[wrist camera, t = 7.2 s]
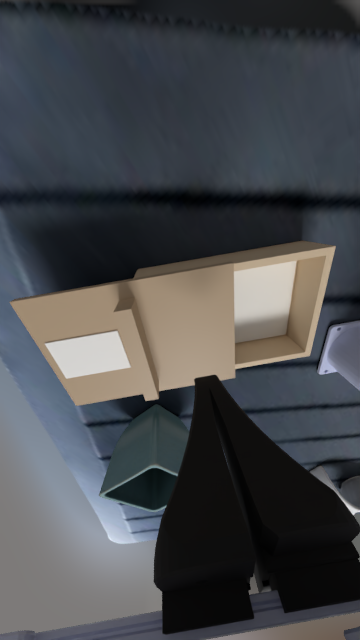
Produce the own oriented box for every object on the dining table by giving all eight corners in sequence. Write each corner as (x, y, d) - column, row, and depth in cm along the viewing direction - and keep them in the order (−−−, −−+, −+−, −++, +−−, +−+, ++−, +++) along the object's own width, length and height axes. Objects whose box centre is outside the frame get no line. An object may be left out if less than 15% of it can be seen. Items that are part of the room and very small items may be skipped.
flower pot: (156, 441, 32) (154, 514, 24) (114, 419, 28) (96, 497, 20) (196, 416, 30) (208, 488, 22) (155, 389, 26) (153, 463, 18)
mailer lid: (231, 261, 14) (244, 269, 12) (233, 373, 20) (242, 393, 18) (15, 298, 14) (-13, 314, 12) (78, 400, 20) (67, 424, 17)
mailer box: (302, 240, 18) (335, 246, 15) (287, 335, 23) (309, 355, 20) (137, 269, 18) (131, 281, 15) (160, 357, 23) (160, 382, 20)
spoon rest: (387, 473, 48) (421, 512, 41) (347, 493, 52) (373, 531, 46) (330, 455, 40) (361, 499, 34) (290, 480, 45) (311, 523, 38)
